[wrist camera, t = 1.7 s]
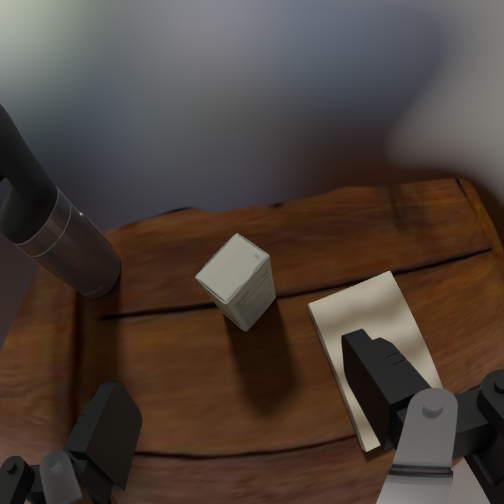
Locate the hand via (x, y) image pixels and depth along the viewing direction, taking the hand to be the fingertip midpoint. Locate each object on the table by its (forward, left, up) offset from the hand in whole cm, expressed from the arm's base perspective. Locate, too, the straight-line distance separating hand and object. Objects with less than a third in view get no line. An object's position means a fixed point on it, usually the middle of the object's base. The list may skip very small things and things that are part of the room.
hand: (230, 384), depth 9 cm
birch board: (+1, +14, -26) cm, 29 cm away
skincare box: (-12, +1, -26) cm, 28 cm away
